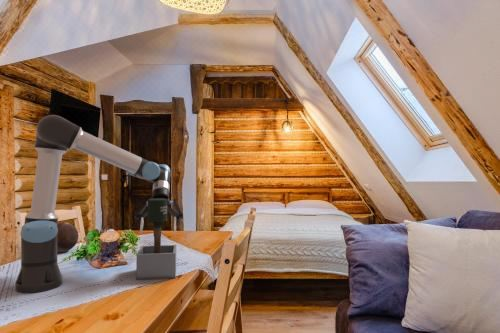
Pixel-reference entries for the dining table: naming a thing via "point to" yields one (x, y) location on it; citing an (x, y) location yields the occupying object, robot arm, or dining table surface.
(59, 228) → the wooden sphere
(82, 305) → the dining table surface
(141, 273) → the bin
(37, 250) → the robot arm
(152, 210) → the stick grenade
